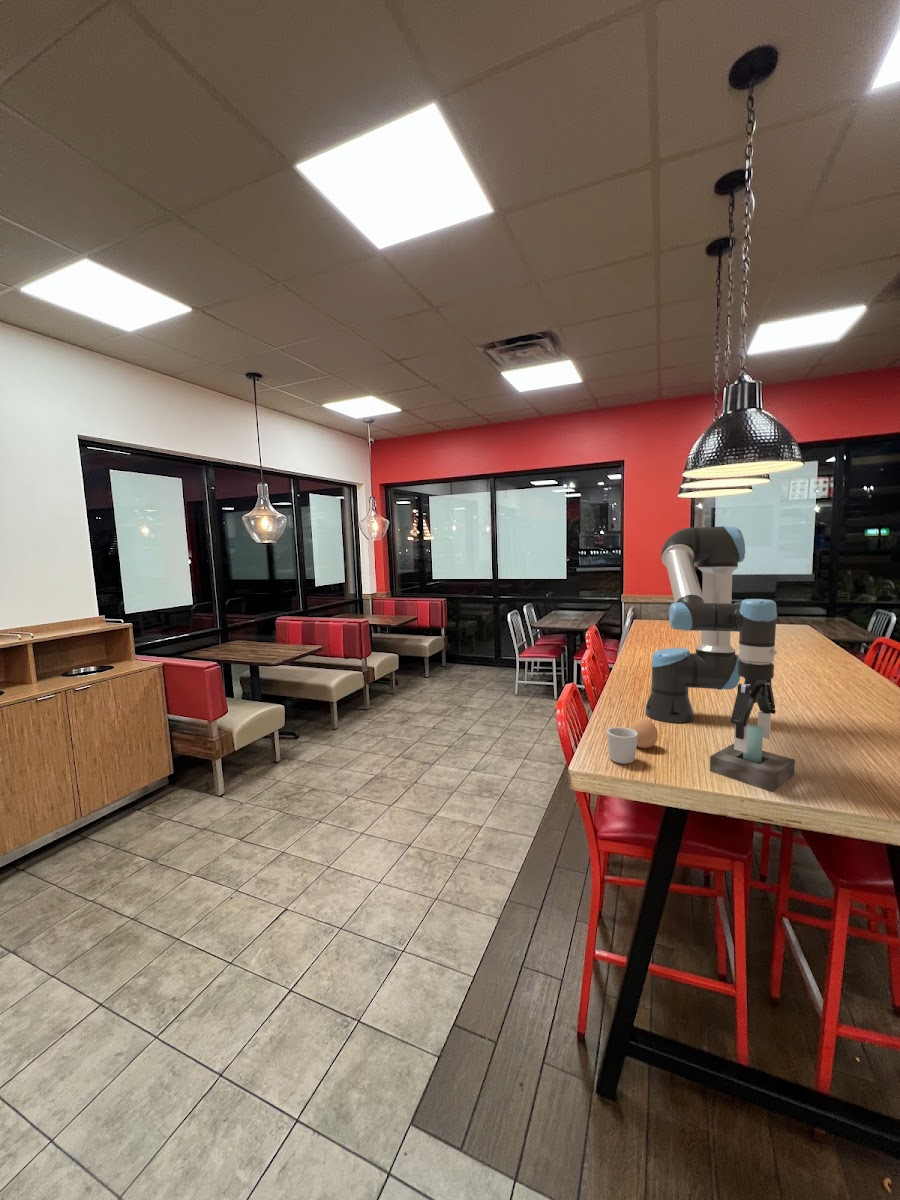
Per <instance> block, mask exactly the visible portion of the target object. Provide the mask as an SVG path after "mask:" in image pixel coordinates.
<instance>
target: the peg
mask: <svg viewBox="0 0 900 1200" xmlns="http://www.w3.org/2000/svg"><path fill="white" fill-rule="evenodd" d="M746 726H748V749H747V753H745V752H743V760H747V761H750V762H753V763H757V764H761V763H762V751H763V739H764V738H763V728H762V727H760V726H758V724H757V725H756V724H749V723H747V725H746Z"/></svg>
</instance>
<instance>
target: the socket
mask: <svg viewBox="0 0 900 1200" xmlns="http://www.w3.org/2000/svg"><path fill="white" fill-rule="evenodd" d="M709 758H710V759H709V763H710V764H709V771H710V772H711V773H715V774H717V775H721V776H723V777H726V778H729V779H733V780H735V781H739V782H742V783H745V784H748V785H750V786H753V787H757V788H759V789H763V790H764V791H765V790H766V791H768V792H771V793H773V792H774V791H775V790H777V789H778V788H779V787H781V786H782V785H783V784H785V782H787V781H789V779H791V778H793V777H794V776H795V768H796V767H795V763H796V759H794V758H791V757H788V756H787V757H786V756H784V755H783V756H782V755H779V754H777V753H772V752H769V751H765V750H762V763H761V764H757V763H753V762H750V761H747V760H743V752H742V751H738V750H735V749H734V743H732V744H730V745H728V746H726V747H724V748H723V749H721V750H719V751H717V752H715V753H713V754H712V755H710V757H709Z"/></svg>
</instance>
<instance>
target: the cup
mask: <svg viewBox="0 0 900 1200" xmlns="http://www.w3.org/2000/svg"><path fill="white" fill-rule="evenodd" d="M606 739H607V748H608V756H609V758H610V760H611V761H613V762H614V763H618V764H623V765H627V764H632V763H633V762H634V761H635V758H636V756H637V755H636V753H637V747H638V746H637V739H638V733H637V732H636V731H635V730H632V729H631V728H628V727H626V726H625V727H623V726H613V727H610V728H607V730H606Z"/></svg>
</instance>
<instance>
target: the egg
mask: <svg viewBox="0 0 900 1200" xmlns="http://www.w3.org/2000/svg"><path fill="white" fill-rule="evenodd" d="M656 727H657V726H656V725H655V724H654V723H653V722H652V721H651V720H650V719H649V718H643V717H641V718H639V719H637V720H635V722H634V723H633V724H632V726H631V728H630V729H632V730H635V731H636V732H637V733H638V739H637V747H639V748H640V749H649V748H651V747H653V746H654V745H656V743H657V741H658V740H659V733H658V728H656Z"/></svg>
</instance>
